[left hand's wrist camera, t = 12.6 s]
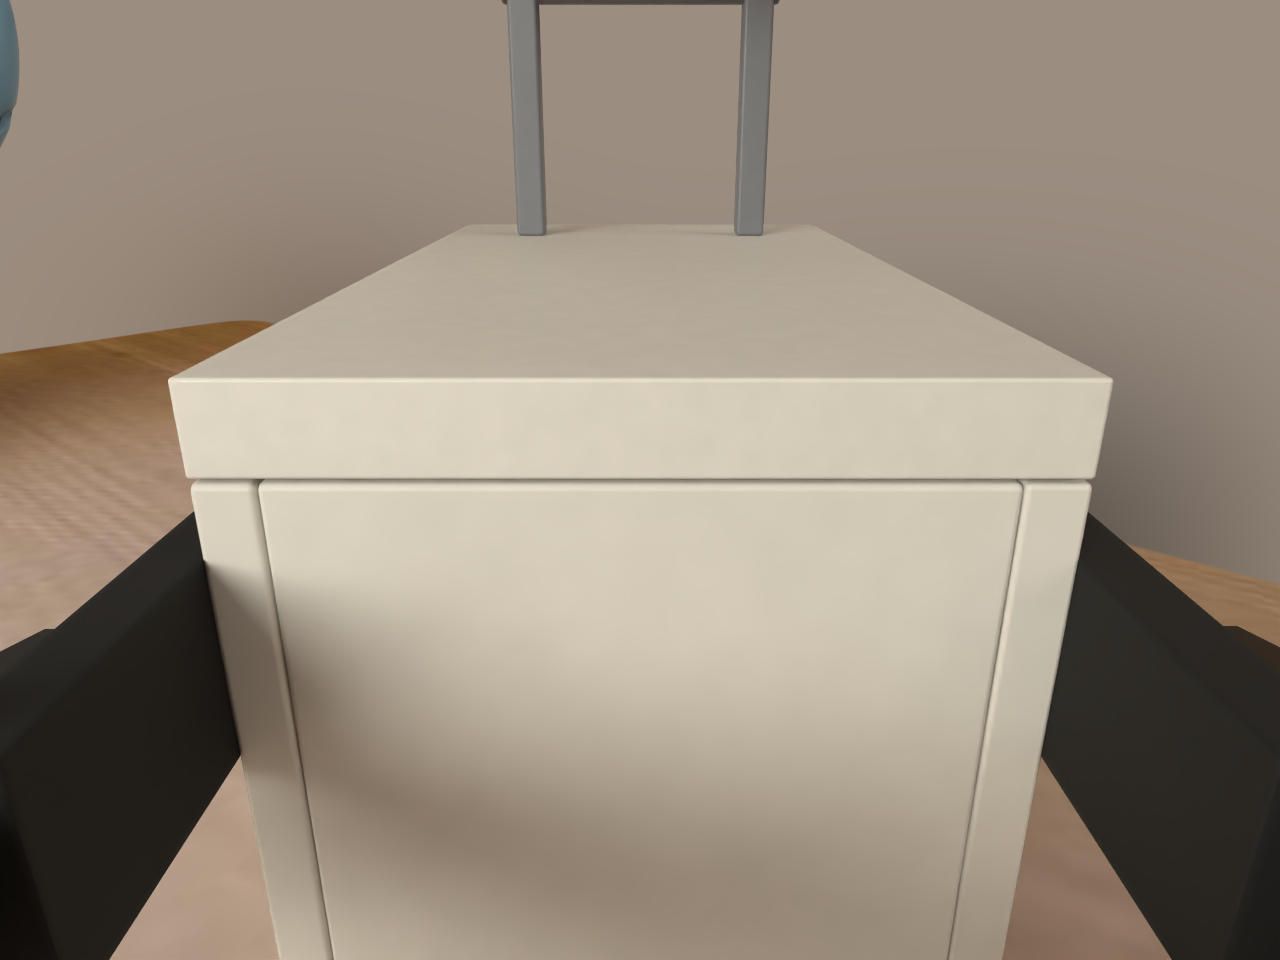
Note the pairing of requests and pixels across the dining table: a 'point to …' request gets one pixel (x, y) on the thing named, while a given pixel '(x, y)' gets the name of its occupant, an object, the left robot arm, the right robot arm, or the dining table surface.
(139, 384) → the dining table surface
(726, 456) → the lid
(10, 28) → the right robot arm
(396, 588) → the chest
